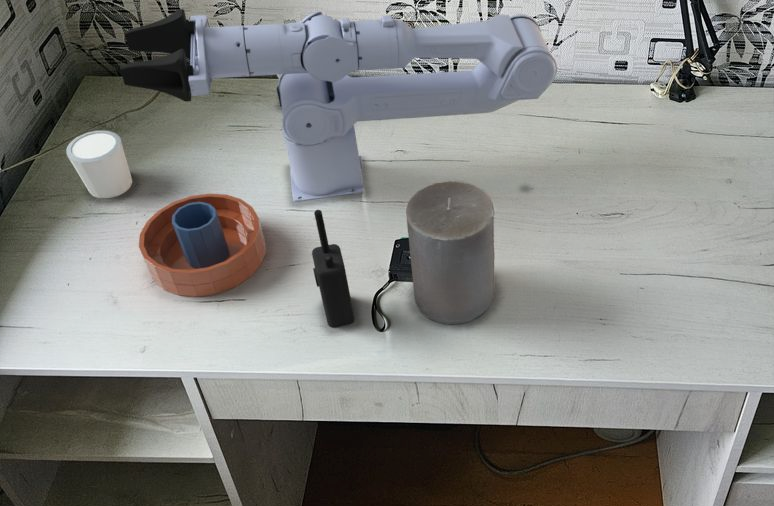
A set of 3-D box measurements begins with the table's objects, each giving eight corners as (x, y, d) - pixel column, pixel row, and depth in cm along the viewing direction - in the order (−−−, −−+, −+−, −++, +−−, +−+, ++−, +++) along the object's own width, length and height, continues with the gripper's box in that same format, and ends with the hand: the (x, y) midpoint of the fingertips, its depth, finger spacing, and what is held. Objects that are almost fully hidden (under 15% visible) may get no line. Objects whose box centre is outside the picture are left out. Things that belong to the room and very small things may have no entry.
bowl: (264, 213, 114) (257, 186, 111) (268, 289, 105) (260, 262, 102) (153, 229, 112) (142, 202, 109) (147, 307, 103) (135, 281, 100)
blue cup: (228, 238, 110) (215, 199, 105) (229, 266, 107) (215, 226, 102) (187, 244, 109) (172, 205, 105) (186, 272, 106) (171, 233, 101)
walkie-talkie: (356, 325, 101) (337, 229, 90) (327, 331, 100) (305, 236, 89) (349, 296, 104) (330, 200, 93) (321, 302, 103) (299, 206, 92)
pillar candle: (418, 266, 107) (408, 170, 96) (497, 268, 107) (496, 171, 96) (410, 324, 101) (398, 229, 90) (493, 326, 101) (492, 231, 90)
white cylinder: (122, 207, 115) (104, 164, 110) (75, 200, 116) (55, 158, 111) (146, 174, 119) (130, 132, 114) (101, 168, 120) (82, 126, 115)
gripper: (240, -11, 104) (120, -6, 101) (243, 52, 94) (111, 59, 92) (248, 43, 109) (134, 49, 106) (252, 108, 100) (127, 116, 97)
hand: (124, 57), depth 99 cm, fingers open, 7 cm apart
